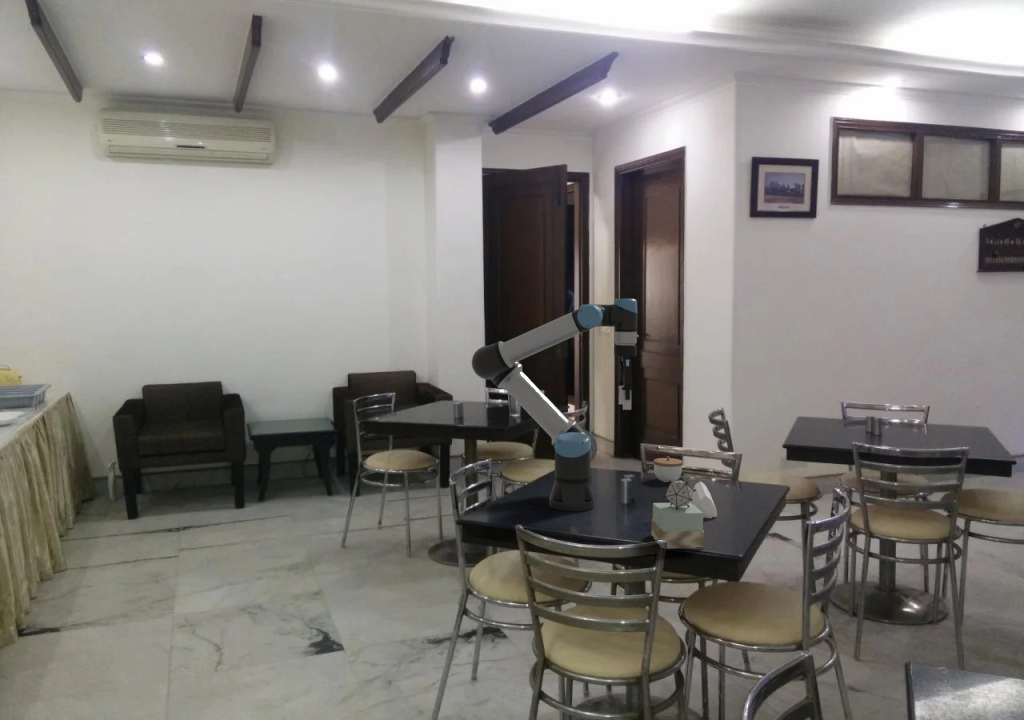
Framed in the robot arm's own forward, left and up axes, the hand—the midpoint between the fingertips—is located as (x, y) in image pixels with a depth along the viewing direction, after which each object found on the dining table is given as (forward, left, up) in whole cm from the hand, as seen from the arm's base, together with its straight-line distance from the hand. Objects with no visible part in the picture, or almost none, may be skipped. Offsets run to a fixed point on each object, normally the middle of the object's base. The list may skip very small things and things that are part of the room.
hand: (624, 406), depth 255 cm
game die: (+9, -46, -22) cm, 52 cm away
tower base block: (+9, -46, -32) cm, 57 cm away
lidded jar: (+20, +27, -32) cm, 47 cm away
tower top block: (+9, -46, -27) cm, 55 cm away
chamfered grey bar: (+24, -12, -32) cm, 42 cm away
